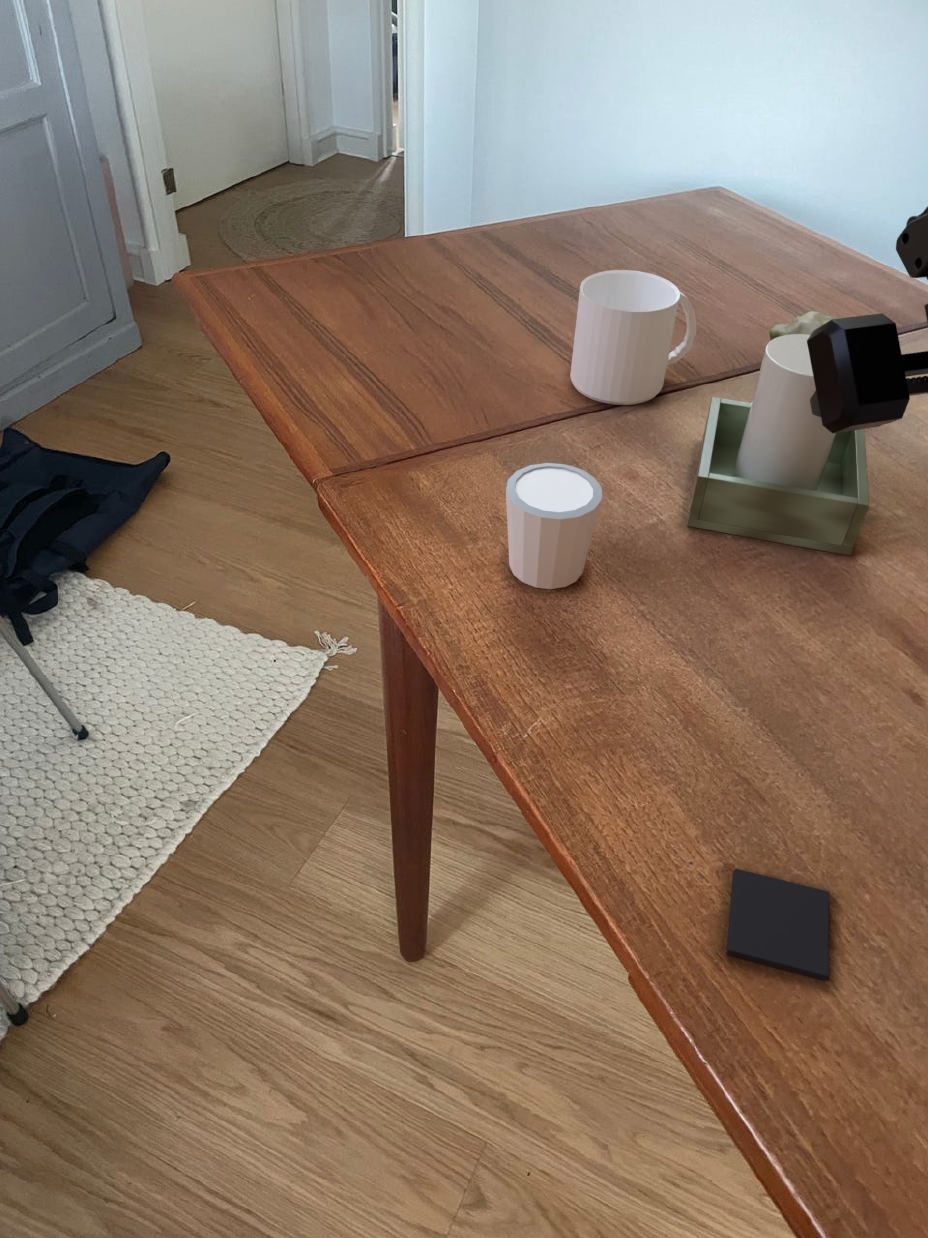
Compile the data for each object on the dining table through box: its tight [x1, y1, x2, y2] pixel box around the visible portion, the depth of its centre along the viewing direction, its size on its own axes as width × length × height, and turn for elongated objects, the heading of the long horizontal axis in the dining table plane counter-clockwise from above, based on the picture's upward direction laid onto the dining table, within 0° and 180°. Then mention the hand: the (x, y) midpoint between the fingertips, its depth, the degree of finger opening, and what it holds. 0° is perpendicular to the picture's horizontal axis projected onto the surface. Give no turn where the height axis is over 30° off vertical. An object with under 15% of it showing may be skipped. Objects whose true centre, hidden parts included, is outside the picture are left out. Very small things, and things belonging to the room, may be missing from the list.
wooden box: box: [686, 396, 870, 556], centre depth 76 cm, size 13×13×5 cm
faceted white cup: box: [505, 462, 603, 590], centre depth 68 cm, size 7×7×7 cm
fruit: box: [769, 310, 835, 342], centre depth 91 cm, size 9×9×8 cm
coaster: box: [725, 867, 830, 981], centre depth 49 cm, size 5×5×1 cm
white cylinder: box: [732, 334, 836, 491], centre depth 73 cm, size 7×7×12 cm
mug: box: [569, 269, 697, 406], centre depth 88 cm, size 12×9×9 cm
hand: (872, 398), depth 64 cm, fingers open, 9 cm apart
